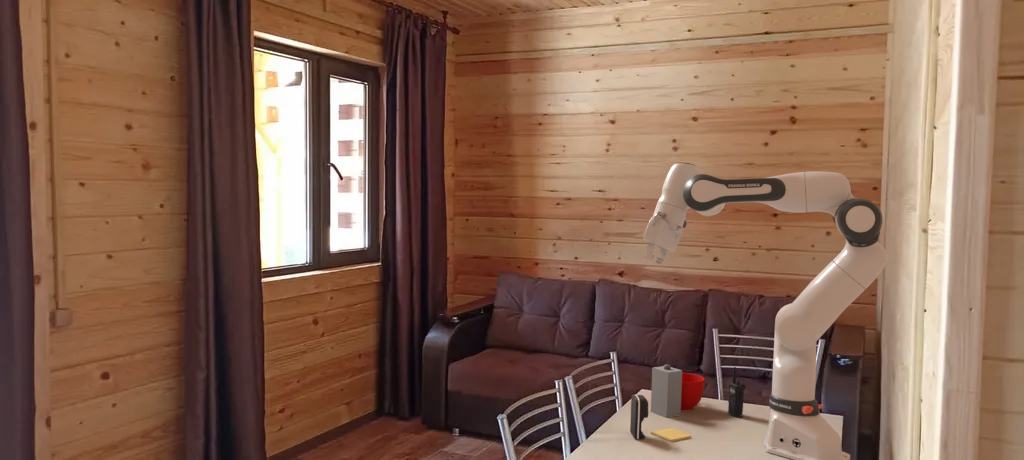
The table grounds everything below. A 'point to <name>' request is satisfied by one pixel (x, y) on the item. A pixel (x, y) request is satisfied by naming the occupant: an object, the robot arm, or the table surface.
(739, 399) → the two-way radio
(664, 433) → the bay mat
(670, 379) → the gray rectangular box
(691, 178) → the robot arm
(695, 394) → the ceramic cup
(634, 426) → the battery charger
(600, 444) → the table surface
